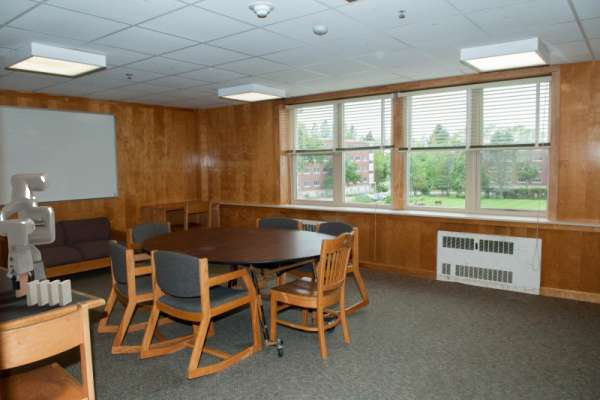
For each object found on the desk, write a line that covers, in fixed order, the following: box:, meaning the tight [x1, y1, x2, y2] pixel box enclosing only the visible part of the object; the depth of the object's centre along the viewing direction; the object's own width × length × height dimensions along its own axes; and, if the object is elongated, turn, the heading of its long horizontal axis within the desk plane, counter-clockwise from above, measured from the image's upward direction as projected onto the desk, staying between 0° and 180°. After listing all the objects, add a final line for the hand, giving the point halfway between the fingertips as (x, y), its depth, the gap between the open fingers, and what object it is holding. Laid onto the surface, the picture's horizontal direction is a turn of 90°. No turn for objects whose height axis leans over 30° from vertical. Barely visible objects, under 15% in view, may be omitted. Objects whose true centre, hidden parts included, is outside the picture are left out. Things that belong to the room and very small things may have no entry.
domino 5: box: [58, 279, 73, 307], centre depth 185 cm, size 2×6×10 cm, turn 176°
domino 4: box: [47, 279, 61, 307], centre depth 186 cm, size 2×6×10 cm, turn 176°
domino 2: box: [26, 280, 39, 307], centre depth 186 cm, size 2×6×10 cm, turn 176°
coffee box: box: [25, 259, 48, 296], centre depth 201 cm, size 9×6×16 cm
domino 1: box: [14, 272, 29, 298], centre depth 186 cm, size 2×6×10 cm, turn 176°
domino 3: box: [36, 279, 50, 307], centre depth 186 cm, size 2×6×10 cm, turn 176°
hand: (22, 287), depth 186 cm, fingers closed on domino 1, 5 cm apart
